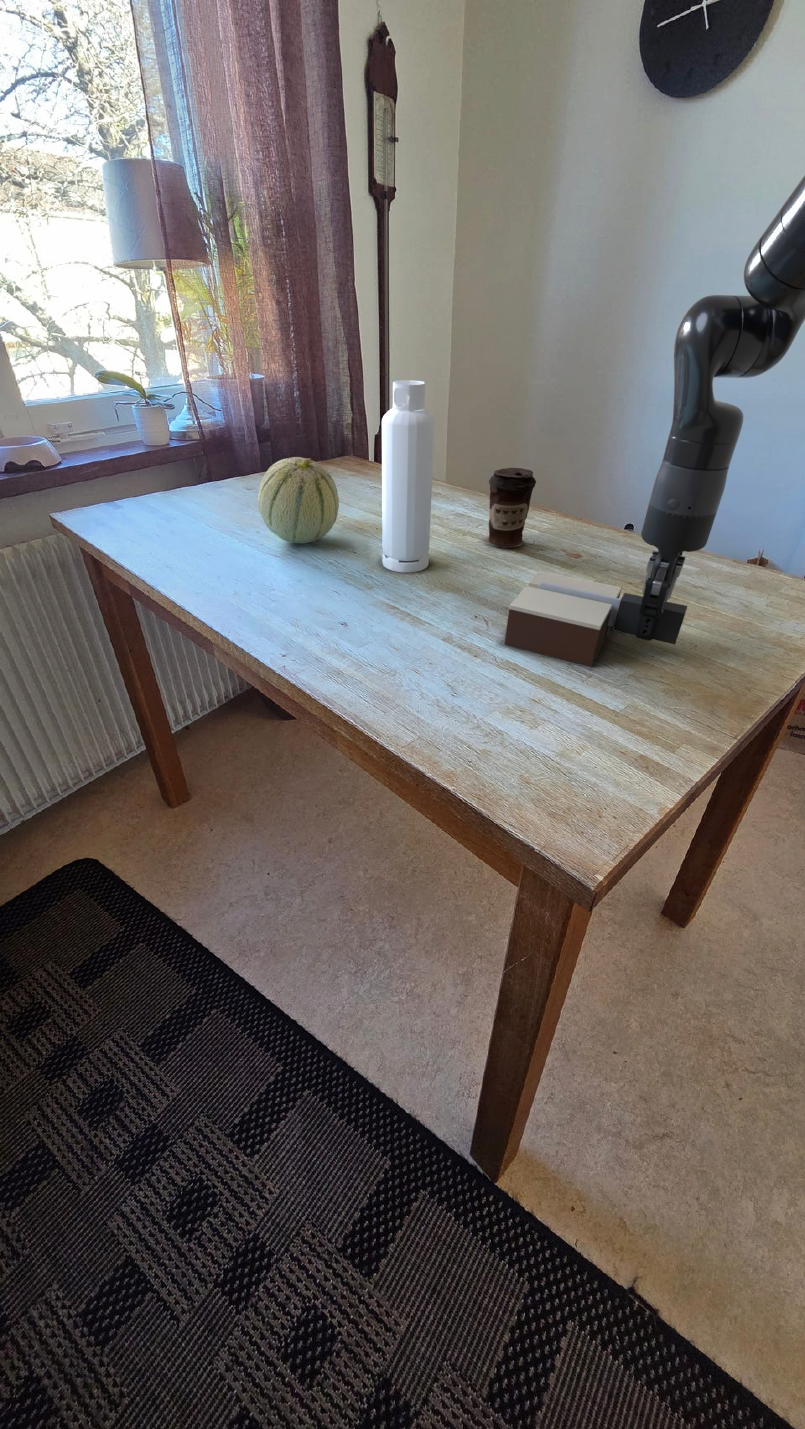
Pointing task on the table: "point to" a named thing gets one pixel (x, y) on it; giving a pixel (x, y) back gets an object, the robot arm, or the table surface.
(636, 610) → the knife
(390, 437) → the bottle
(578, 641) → the cake
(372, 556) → the table surface
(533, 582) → the cake slice
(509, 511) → the coffee cup
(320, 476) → the cantaloupe
